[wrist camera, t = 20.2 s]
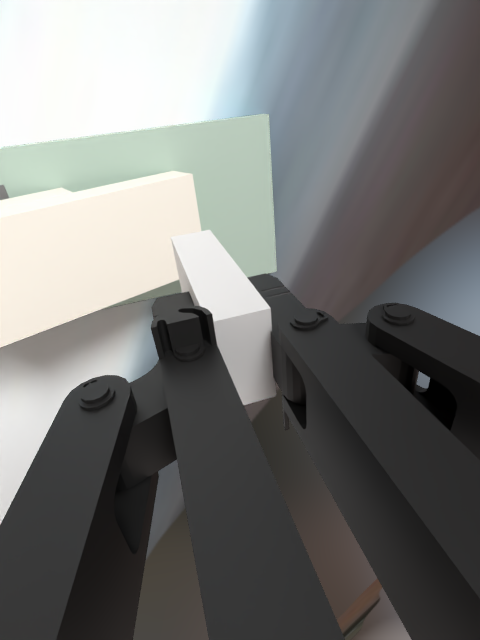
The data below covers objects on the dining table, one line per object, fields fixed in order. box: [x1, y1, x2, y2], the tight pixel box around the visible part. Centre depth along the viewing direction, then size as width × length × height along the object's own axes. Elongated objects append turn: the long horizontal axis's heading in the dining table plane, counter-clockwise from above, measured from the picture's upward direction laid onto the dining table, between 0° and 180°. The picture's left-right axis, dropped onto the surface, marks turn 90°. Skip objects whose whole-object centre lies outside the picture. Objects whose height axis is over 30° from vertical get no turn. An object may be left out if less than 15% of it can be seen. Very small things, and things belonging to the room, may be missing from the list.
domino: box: [0, 171, 201, 348], centre depth 17 cm, size 2×5×11 cm
